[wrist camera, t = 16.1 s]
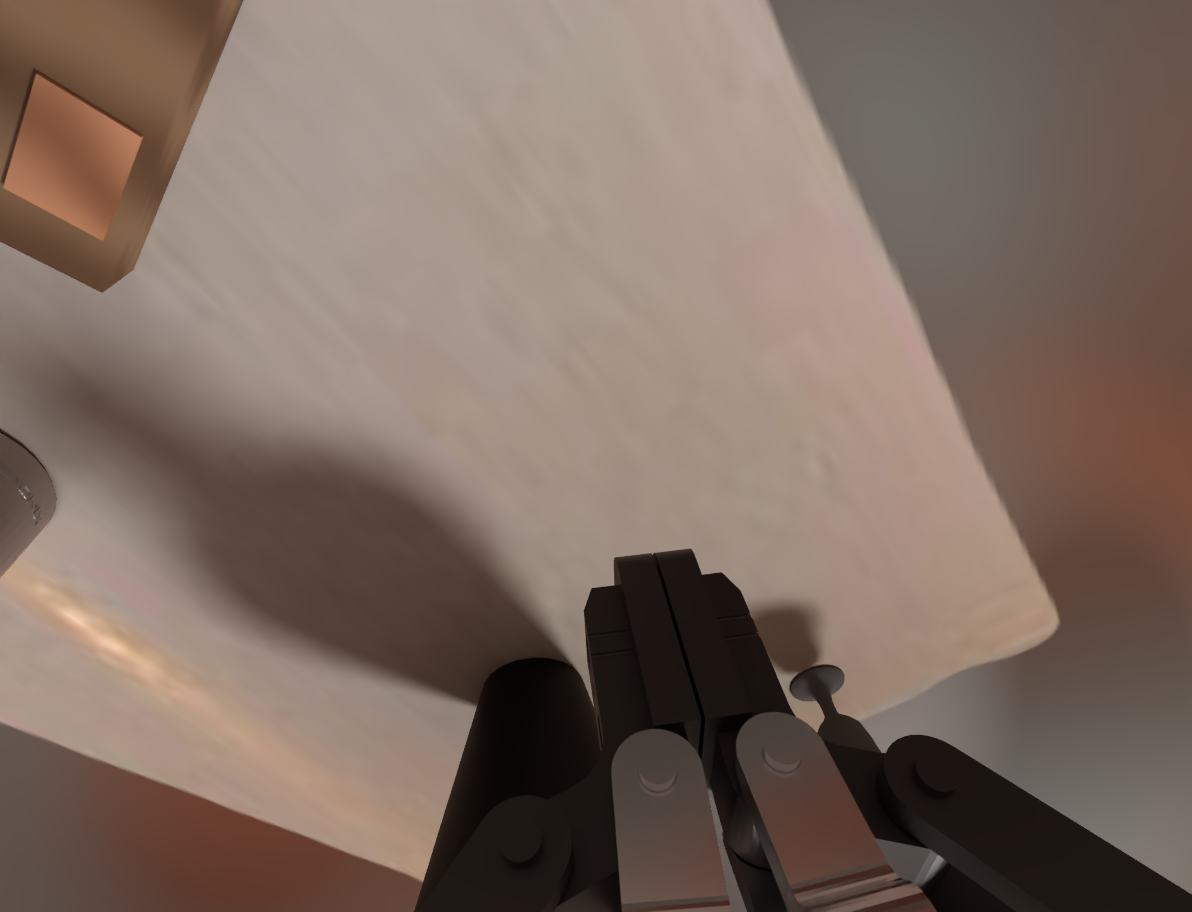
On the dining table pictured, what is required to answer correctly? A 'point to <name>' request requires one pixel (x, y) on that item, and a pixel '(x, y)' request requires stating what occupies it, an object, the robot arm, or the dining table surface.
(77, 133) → the switch base
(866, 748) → the sundae
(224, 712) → the dining table surface
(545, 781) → the vase
